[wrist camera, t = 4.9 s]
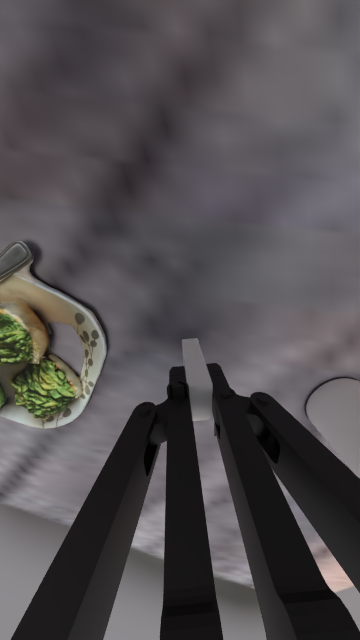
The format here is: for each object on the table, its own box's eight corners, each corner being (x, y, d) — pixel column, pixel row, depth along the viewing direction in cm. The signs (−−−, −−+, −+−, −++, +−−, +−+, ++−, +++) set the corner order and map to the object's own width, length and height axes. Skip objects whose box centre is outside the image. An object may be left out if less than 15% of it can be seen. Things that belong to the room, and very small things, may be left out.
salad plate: (-67, 189, 14) (-176, 157, 10) (141, 297, 17) (131, 310, 13) (-86, 373, 19) (-162, 407, 15) (76, 427, 23) (54, 468, 18)
